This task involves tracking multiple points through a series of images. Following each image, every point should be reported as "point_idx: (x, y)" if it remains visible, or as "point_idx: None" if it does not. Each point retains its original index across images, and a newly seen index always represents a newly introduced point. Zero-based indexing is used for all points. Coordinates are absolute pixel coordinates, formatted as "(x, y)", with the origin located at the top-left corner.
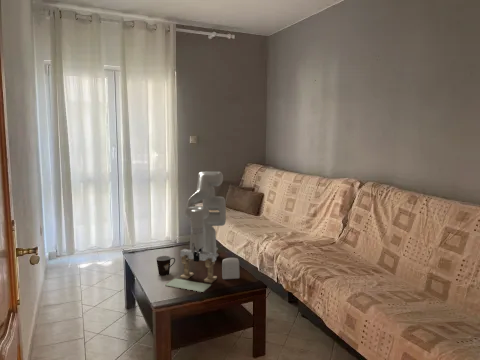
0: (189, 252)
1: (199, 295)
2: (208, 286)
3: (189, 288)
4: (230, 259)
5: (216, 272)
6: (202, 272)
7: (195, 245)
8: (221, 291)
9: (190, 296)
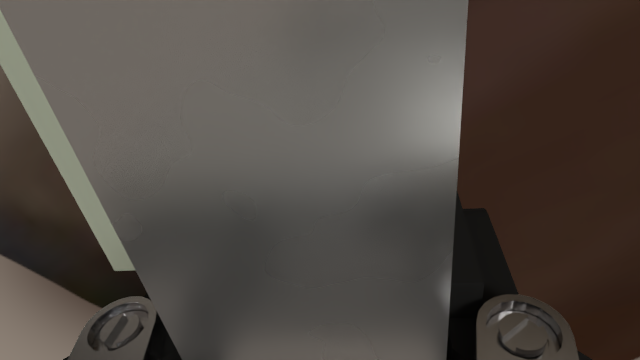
0: (80, 138)
1: (74, 265)
2: None
3: (69, 161)
4: None
5: (576, 165)
6: (535, 9)
7: None
8: None
9: (12, 225)
